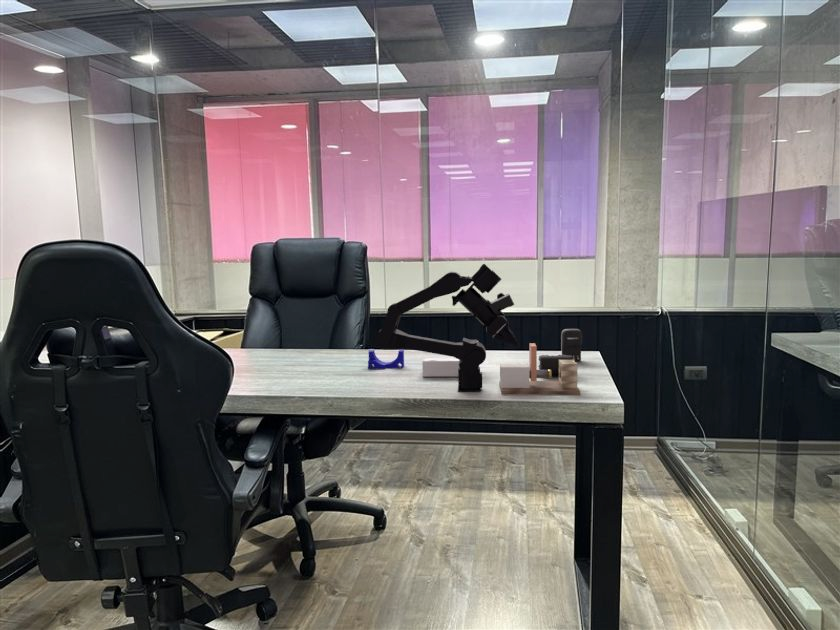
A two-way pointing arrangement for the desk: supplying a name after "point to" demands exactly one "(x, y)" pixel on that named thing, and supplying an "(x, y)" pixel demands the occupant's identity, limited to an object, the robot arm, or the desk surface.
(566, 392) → the base board
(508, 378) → the white rectangular block
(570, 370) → the socket block
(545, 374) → the brushed copper slab
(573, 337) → the battery charger
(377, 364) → the cable clip
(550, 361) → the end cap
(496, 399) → the desk surface
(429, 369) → the white box
